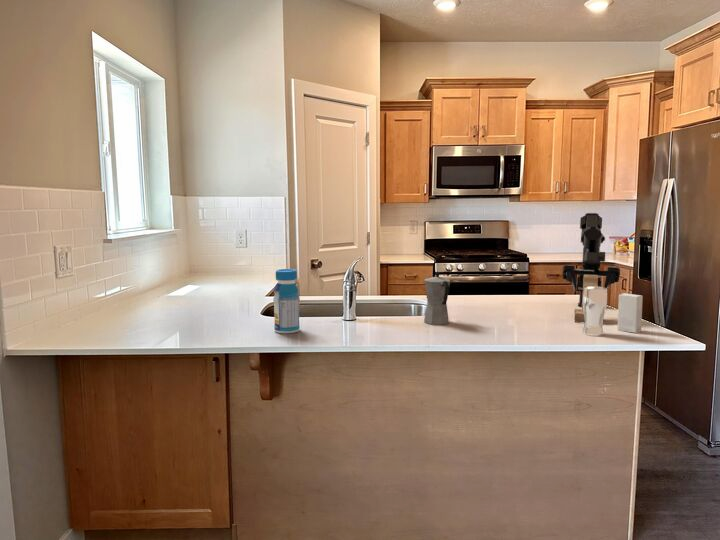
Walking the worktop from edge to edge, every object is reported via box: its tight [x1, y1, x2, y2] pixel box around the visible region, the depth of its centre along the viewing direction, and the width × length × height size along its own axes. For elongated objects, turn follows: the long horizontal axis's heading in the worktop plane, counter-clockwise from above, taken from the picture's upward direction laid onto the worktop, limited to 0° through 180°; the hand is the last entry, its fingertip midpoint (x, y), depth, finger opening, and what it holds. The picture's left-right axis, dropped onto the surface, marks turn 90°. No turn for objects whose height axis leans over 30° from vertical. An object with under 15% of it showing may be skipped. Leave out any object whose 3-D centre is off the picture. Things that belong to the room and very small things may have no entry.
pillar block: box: [581, 275, 598, 313], centre depth 181 cm, size 4×4×13 cm
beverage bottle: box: [272, 268, 301, 334], centre depth 165 cm, size 8×8×20 cm
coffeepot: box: [423, 271, 451, 326], centre depth 177 cm, size 15×9×18 cm, turn 15°
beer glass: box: [582, 286, 608, 337], centre depth 163 cm, size 7×7×15 cm
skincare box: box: [617, 292, 644, 334], centre depth 167 cm, size 6×4×12 cm
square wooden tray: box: [574, 308, 585, 323], centre depth 182 cm, size 9×9×3 cm
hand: (589, 292), depth 180 cm, fingers open, 9 cm apart
